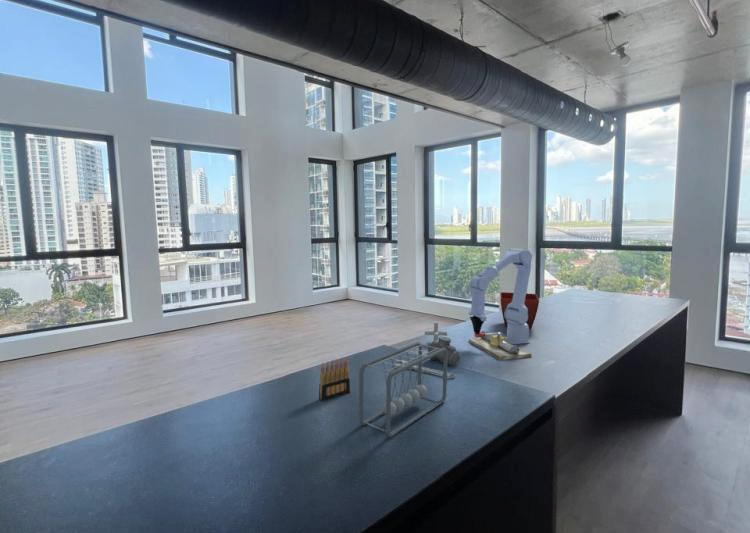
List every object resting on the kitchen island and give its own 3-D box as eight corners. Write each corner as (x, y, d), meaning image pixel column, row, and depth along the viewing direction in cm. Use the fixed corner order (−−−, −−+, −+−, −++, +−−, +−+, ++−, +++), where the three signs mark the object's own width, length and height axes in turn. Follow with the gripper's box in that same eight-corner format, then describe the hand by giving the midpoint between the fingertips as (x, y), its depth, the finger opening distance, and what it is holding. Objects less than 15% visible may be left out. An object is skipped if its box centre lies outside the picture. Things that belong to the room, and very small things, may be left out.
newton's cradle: (418, 392, 134) (420, 340, 132) (446, 401, 127) (448, 346, 125) (358, 427, 111) (358, 364, 109) (388, 440, 104) (389, 374, 102)
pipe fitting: (424, 359, 164) (429, 335, 163) (437, 356, 170) (441, 333, 168) (448, 371, 156) (453, 345, 154) (460, 367, 161) (465, 343, 160)
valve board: (496, 339, 195) (496, 336, 195) (531, 357, 170) (531, 353, 170) (468, 341, 191) (468, 338, 191) (499, 360, 166) (500, 356, 166)
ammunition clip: (321, 401, 126) (321, 364, 125) (318, 399, 128) (318, 362, 127) (350, 392, 133) (350, 357, 132) (346, 390, 134) (347, 355, 133)
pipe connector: (445, 341, 192) (446, 320, 191) (447, 347, 182) (447, 325, 181) (424, 340, 193) (424, 319, 192) (424, 346, 183) (425, 324, 182)
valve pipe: (487, 338, 193) (488, 327, 192) (519, 355, 169) (520, 342, 169) (479, 339, 192) (479, 327, 191) (510, 356, 168) (511, 343, 167)
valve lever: (499, 334, 181) (499, 331, 181) (502, 335, 179) (502, 332, 179) (474, 336, 178) (474, 333, 178) (477, 337, 176) (477, 334, 175)
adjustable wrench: (456, 378, 147) (457, 374, 147) (448, 384, 142) (448, 379, 142) (399, 363, 162) (399, 358, 162) (390, 367, 157) (390, 363, 157)
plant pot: (499, 329, 215) (500, 297, 213) (499, 320, 233) (500, 291, 231) (537, 332, 209) (539, 300, 207) (534, 323, 227) (536, 293, 225)
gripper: (463, 300, 187) (462, 328, 189) (475, 306, 173) (474, 337, 174) (478, 299, 188) (477, 328, 190) (491, 306, 174) (490, 337, 175)
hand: (476, 332), depth 182 cm, fingers closed
